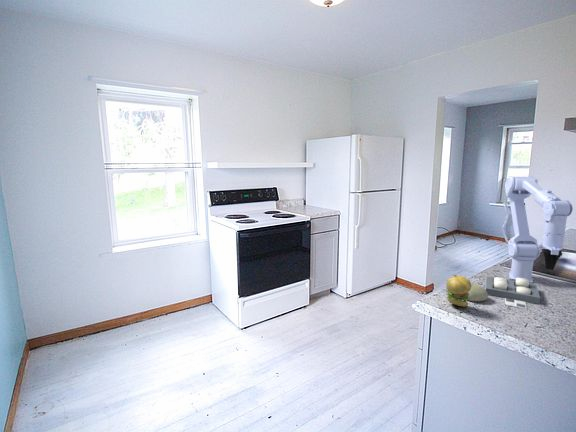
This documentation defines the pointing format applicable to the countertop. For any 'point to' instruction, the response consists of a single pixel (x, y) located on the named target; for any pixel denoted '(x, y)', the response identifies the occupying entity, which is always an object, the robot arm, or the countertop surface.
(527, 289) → the button
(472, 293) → the sea urchin shell
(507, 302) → the tile
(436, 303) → the countertop surface
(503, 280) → the button
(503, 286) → the button
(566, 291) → the countertop surface
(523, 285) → the button
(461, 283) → the hamburger
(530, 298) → the board
